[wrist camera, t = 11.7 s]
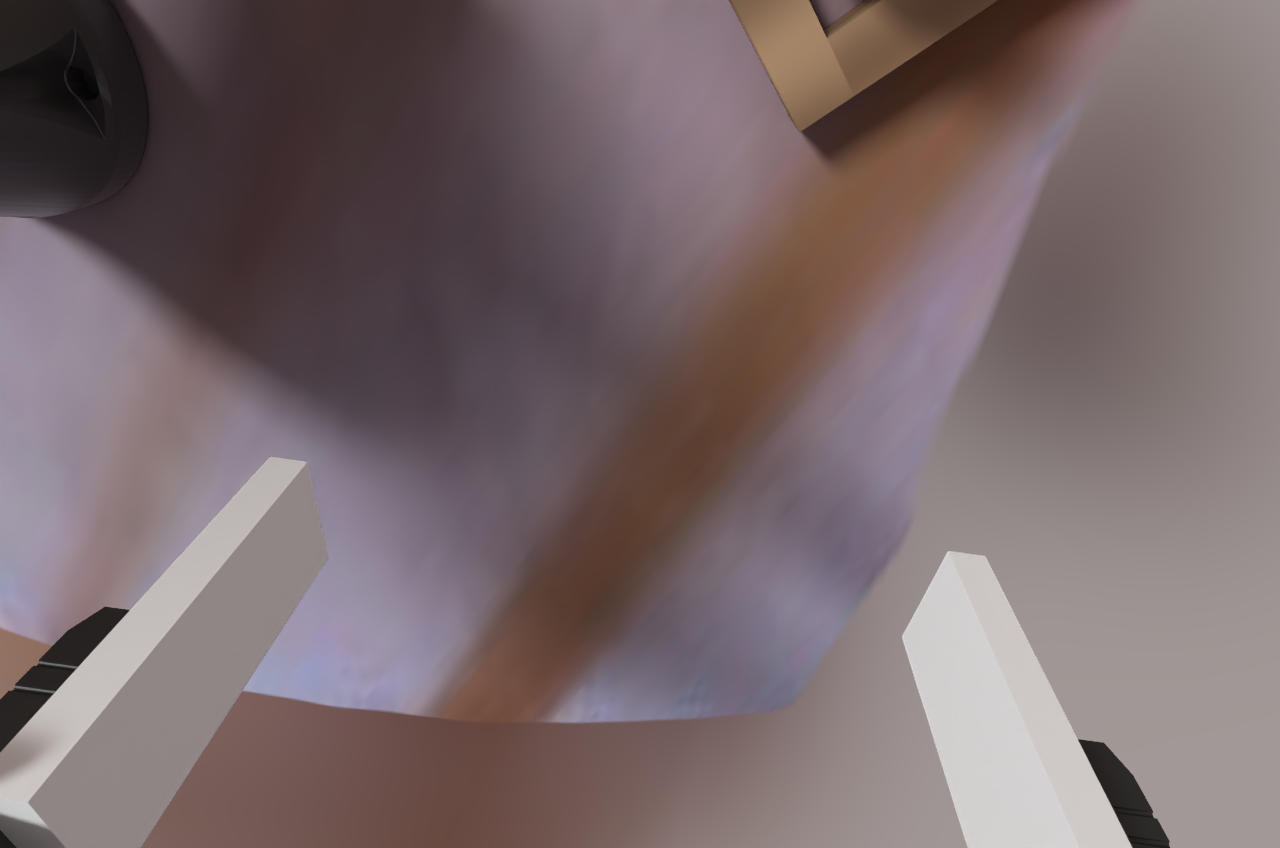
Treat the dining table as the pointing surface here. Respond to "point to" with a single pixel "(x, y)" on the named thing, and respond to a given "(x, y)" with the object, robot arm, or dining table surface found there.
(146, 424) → the dining table surface
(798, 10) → the brown square frame
